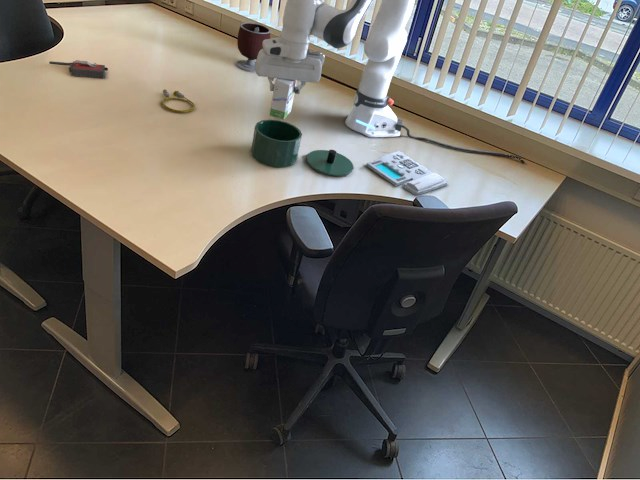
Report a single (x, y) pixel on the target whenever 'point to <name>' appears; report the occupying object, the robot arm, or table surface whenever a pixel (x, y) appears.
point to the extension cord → (176, 99)
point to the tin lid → (330, 162)
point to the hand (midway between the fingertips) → (284, 91)
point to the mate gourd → (251, 44)
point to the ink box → (282, 98)
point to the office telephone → (407, 173)
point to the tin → (276, 143)
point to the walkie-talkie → (84, 69)
